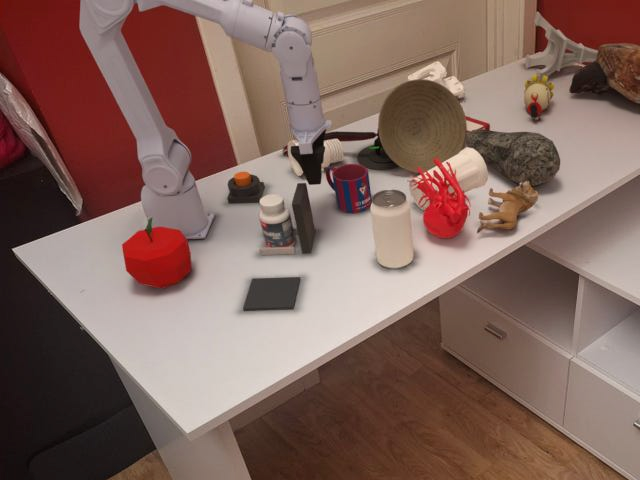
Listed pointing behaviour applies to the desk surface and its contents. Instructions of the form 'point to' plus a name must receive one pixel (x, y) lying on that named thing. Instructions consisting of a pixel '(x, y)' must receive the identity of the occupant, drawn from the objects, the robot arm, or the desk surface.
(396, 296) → the desk surface
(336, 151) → the downlight
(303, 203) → the upright grey panel
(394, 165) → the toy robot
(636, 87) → the sculpture
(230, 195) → the block
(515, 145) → the decorative stone
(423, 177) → the heart organ
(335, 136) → the toy
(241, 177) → the button
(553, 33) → the eiffel tower
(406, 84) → the bowl
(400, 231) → the can
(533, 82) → the toy
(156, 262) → the apple
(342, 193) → the cup
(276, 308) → the coaster
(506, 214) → the lion figurine
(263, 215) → the pill bottle
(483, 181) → the cup
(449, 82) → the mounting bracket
